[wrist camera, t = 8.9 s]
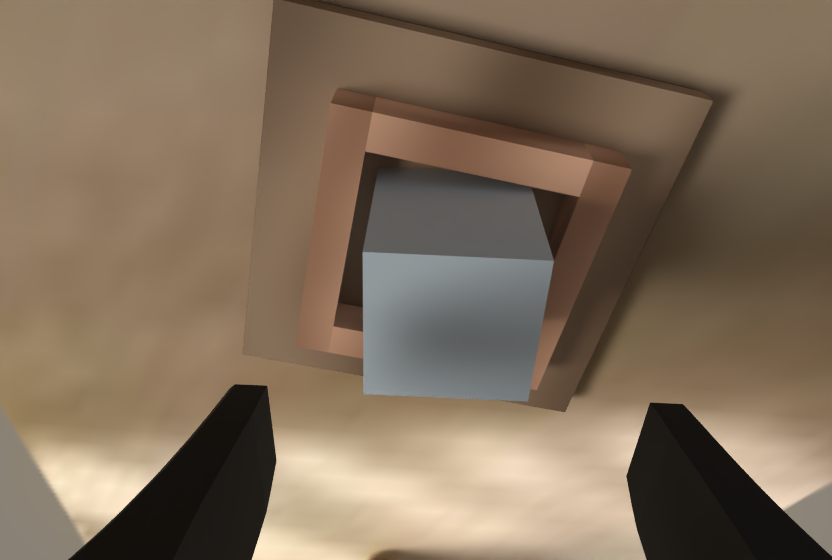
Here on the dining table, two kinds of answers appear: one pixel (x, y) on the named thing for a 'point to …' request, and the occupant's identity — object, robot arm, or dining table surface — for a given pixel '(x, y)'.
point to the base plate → (448, 150)
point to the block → (452, 286)
